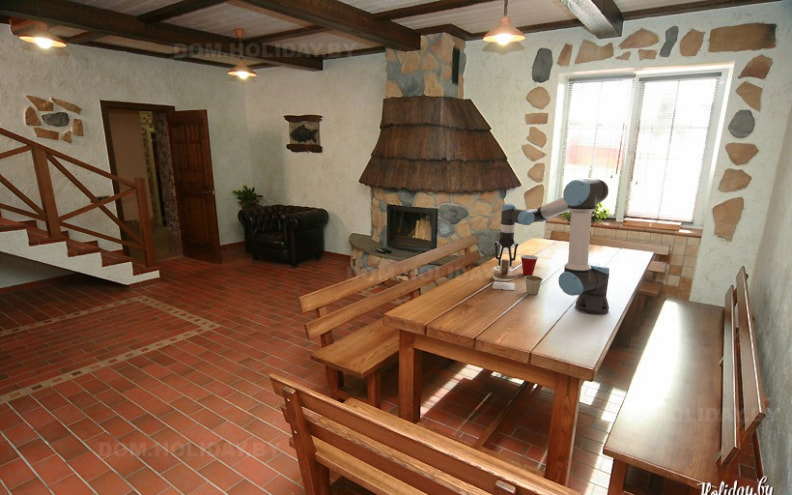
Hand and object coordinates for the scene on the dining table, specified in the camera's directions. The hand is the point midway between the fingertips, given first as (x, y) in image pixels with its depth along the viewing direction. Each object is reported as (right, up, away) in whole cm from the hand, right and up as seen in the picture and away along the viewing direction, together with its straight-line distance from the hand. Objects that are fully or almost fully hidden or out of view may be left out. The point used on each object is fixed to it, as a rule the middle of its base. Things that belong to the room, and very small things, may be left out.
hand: (504, 271), depth 239 cm
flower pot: (+13, -12, -9) cm, 20 cm away
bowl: (+2, -5, +16) cm, 17 cm away
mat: (0, -9, +2) cm, 9 cm away
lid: (0, -3, +1) cm, 3 cm away
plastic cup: (+21, -4, +24) cm, 32 cm away
